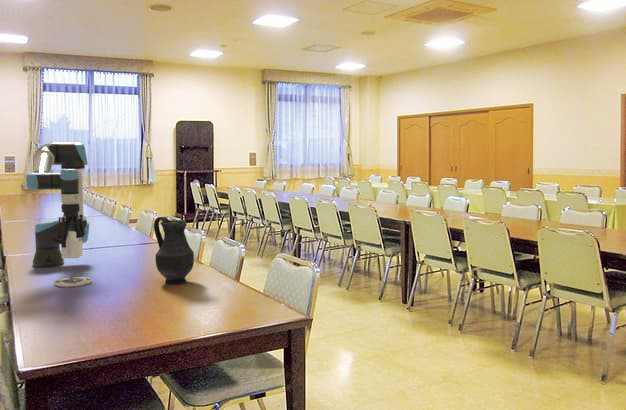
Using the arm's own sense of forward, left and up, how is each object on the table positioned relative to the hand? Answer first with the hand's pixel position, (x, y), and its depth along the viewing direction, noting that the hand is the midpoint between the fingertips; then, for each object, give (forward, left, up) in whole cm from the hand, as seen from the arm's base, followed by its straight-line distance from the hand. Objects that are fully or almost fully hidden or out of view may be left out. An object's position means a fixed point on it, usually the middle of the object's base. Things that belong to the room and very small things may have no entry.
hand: (72, 252), depth 264 cm
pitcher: (+42, +15, -14) cm, 47 cm away
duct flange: (0, 0, -14) cm, 14 cm away
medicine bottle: (0, 0, -2) cm, 2 cm away
